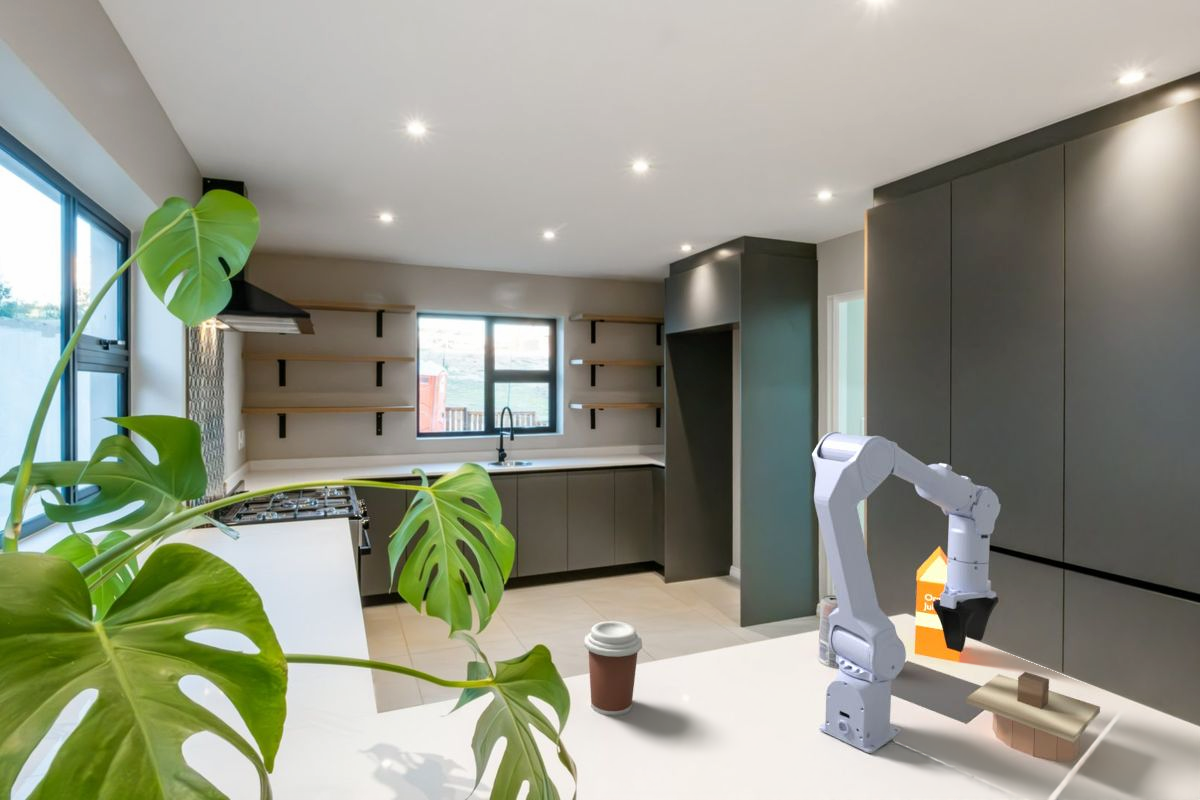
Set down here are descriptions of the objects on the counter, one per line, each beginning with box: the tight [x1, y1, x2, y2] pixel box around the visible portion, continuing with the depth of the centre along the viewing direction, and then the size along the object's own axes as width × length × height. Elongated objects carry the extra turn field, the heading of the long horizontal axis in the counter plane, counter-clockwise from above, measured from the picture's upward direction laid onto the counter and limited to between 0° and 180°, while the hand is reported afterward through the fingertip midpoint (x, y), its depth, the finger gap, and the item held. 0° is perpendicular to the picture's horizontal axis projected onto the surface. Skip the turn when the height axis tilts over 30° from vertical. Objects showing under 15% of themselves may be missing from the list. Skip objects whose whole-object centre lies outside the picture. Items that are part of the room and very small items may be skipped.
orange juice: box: [914, 545, 961, 663], centre depth 125 cm, size 8×9×20 cm
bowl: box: [992, 713, 1081, 762], centre depth 92 cm, size 10×10×5 cm
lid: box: [966, 671, 1101, 742], centre depth 93 cm, size 13×13×4 cm
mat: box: [891, 660, 985, 725], centre depth 108 cm, size 16×16×1 cm
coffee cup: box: [584, 620, 643, 716], centre depth 100 cm, size 9×9×12 cm
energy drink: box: [818, 594, 839, 670], centre depth 118 cm, size 5×5×12 cm
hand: (964, 644), depth 102 cm, fingers open, 7 cm apart
